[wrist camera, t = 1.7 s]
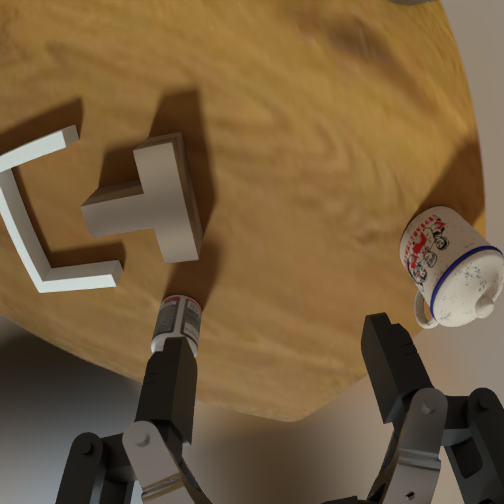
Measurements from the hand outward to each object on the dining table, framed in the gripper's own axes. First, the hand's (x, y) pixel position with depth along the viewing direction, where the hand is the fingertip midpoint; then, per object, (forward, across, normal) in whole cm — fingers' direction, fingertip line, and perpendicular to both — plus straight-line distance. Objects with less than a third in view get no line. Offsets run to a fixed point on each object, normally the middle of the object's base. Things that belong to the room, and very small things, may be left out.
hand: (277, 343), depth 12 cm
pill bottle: (+18, +10, +14) cm, 25 cm away
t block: (+18, +10, 0) cm, 20 cm away
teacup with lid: (+18, -18, +10) cm, 27 cm away
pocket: (+18, +20, 0) cm, 27 cm away
